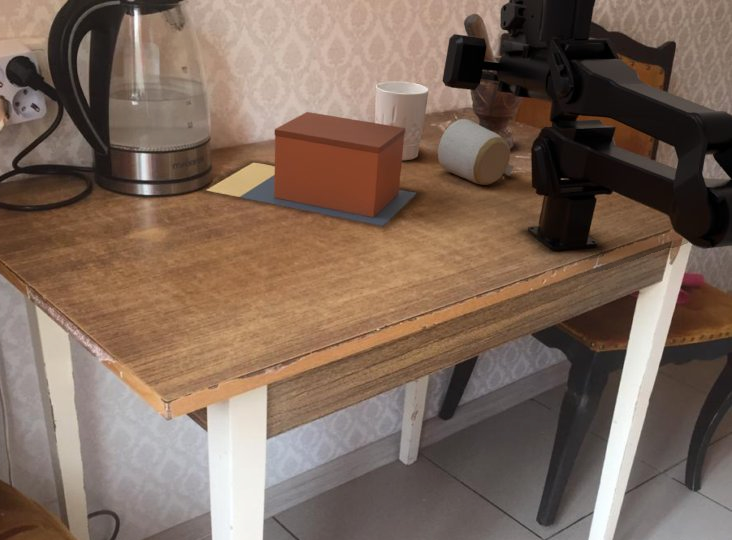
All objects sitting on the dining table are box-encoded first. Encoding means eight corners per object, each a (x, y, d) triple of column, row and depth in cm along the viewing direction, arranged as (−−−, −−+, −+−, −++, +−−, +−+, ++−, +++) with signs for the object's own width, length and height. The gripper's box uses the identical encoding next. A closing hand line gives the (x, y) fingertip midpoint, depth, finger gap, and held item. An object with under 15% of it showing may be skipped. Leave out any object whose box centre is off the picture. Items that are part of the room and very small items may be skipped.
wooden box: (399, 194, 118) (405, 127, 113) (373, 217, 110) (379, 147, 105) (304, 176, 122) (306, 111, 117) (273, 197, 114) (274, 129, 109)
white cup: (431, 156, 134) (439, 89, 128) (399, 165, 129) (406, 96, 123) (393, 143, 138) (398, 78, 133) (360, 152, 133) (364, 85, 128)
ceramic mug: (473, 191, 121) (482, 135, 117) (433, 174, 126) (440, 120, 122) (524, 181, 126) (534, 128, 122) (484, 165, 132) (492, 113, 128)
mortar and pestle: (486, 160, 134) (506, 21, 123) (441, 147, 138) (457, 12, 128) (525, 146, 141) (547, 15, 131) (481, 134, 146) (499, 6, 135)
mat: (416, 194, 119) (417, 192, 119) (383, 227, 108) (383, 225, 108) (253, 163, 126) (253, 162, 126) (205, 191, 115) (205, 190, 115)
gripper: (622, 13, 106) (550, 5, 119) (492, -8, 99) (430, -13, 111) (599, 107, 110) (532, 90, 123) (473, 94, 103) (416, 77, 116)
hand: (480, 60), depth 118 cm, fingers open, 9 cm apart
